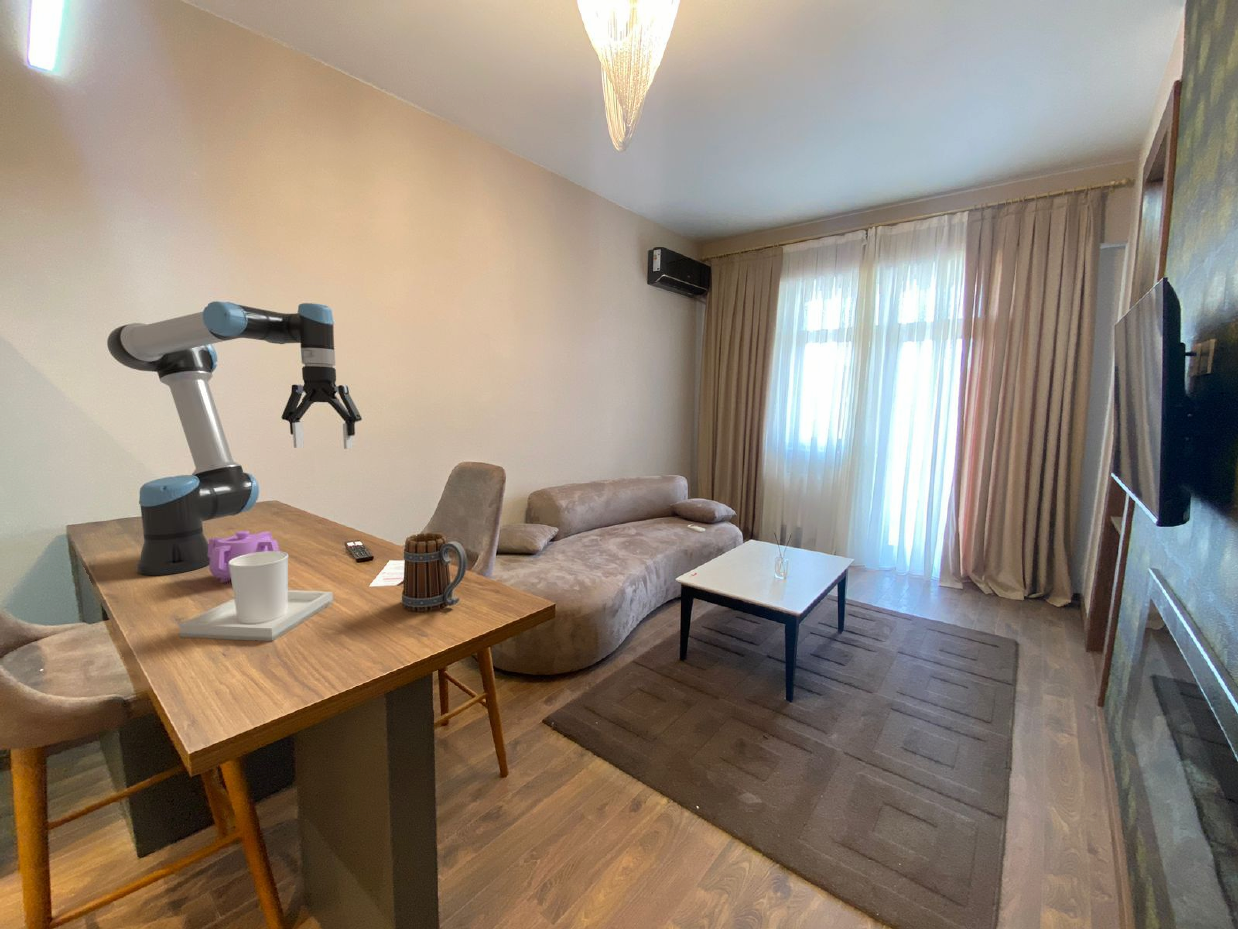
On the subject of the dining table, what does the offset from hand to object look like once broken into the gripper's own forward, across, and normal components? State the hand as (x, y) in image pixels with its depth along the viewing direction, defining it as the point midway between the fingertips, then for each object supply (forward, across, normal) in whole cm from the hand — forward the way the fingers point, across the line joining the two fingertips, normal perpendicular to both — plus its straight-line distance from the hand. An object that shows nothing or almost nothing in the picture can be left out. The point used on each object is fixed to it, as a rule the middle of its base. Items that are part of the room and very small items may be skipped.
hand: (323, 447), depth 132 cm
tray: (+32, +8, -34) cm, 47 cm away
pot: (+32, -14, -12) cm, 37 cm away
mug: (+32, +40, -24) cm, 57 cm away
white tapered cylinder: (+31, +8, -34) cm, 47 cm away
